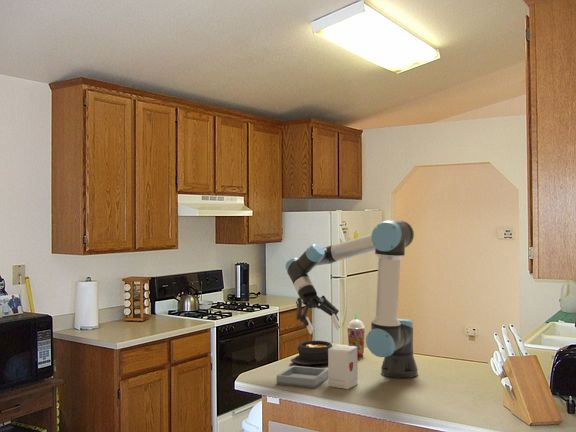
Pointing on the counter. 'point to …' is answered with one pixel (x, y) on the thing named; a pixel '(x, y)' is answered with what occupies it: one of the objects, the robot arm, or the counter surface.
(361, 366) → the counter surface
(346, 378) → the supplement box
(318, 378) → the tray
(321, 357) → the casserole
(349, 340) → the smoothie
